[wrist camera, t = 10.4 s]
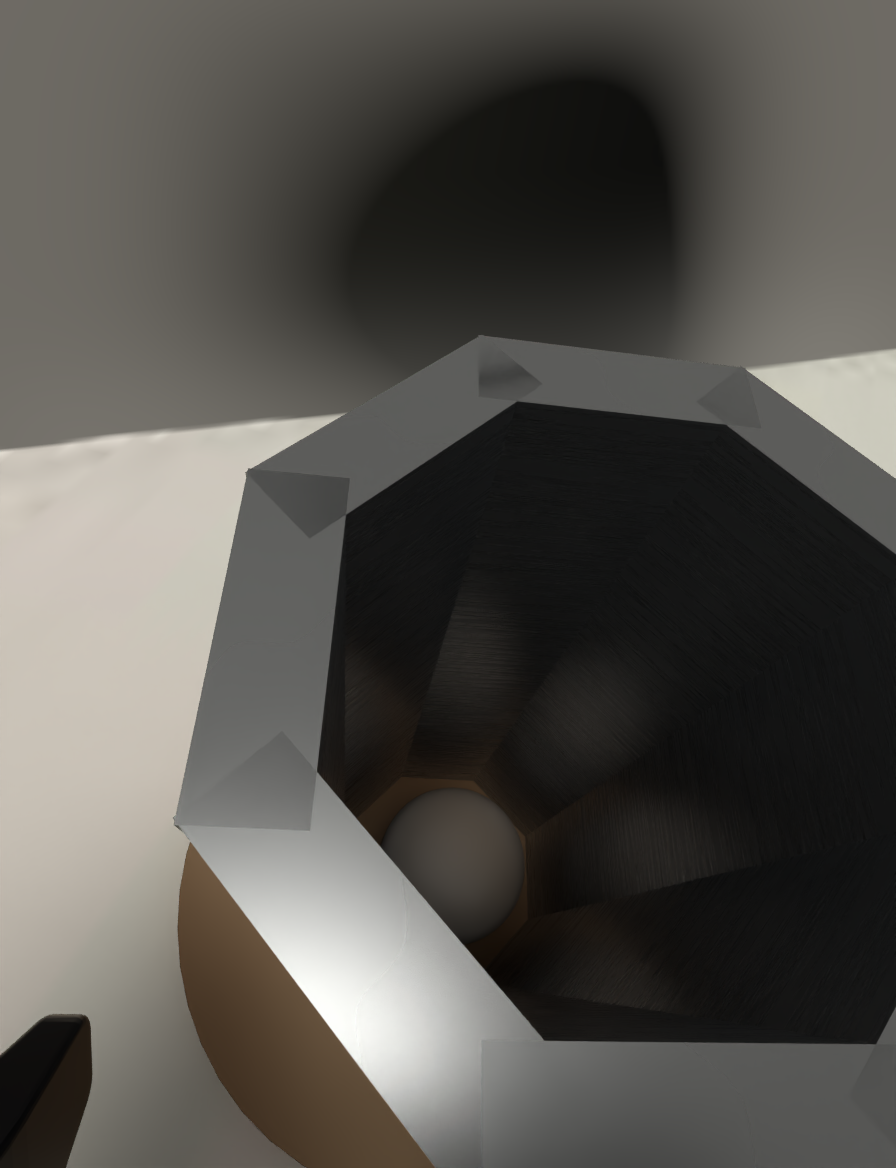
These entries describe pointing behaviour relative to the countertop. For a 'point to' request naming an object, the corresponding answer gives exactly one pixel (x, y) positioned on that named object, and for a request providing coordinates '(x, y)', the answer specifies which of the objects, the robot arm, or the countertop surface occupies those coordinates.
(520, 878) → the post stand
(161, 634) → the countertop surface
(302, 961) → the steel sleeve
